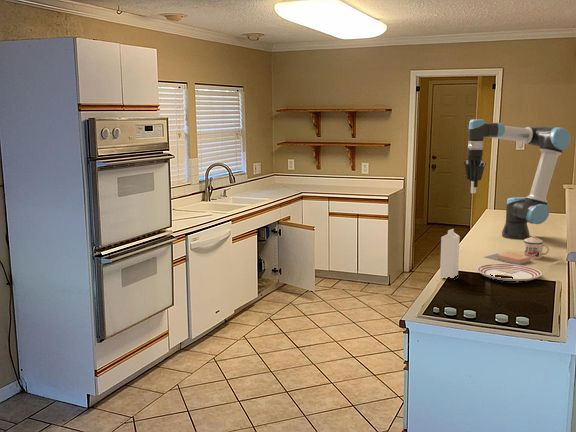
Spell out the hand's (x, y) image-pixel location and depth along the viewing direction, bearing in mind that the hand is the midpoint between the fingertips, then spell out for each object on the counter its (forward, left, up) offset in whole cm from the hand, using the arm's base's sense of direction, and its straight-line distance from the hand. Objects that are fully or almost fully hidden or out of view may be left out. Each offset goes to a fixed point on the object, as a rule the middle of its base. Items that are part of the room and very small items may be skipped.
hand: (473, 193), depth 315 cm
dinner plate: (+53, +24, -30) cm, 65 cm away
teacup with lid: (+14, +33, -30) cm, 47 cm away
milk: (+65, 0, -30) cm, 71 cm away
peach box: (+23, +19, -27) cm, 40 cm away
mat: (+25, +21, -29) cm, 44 cm away
